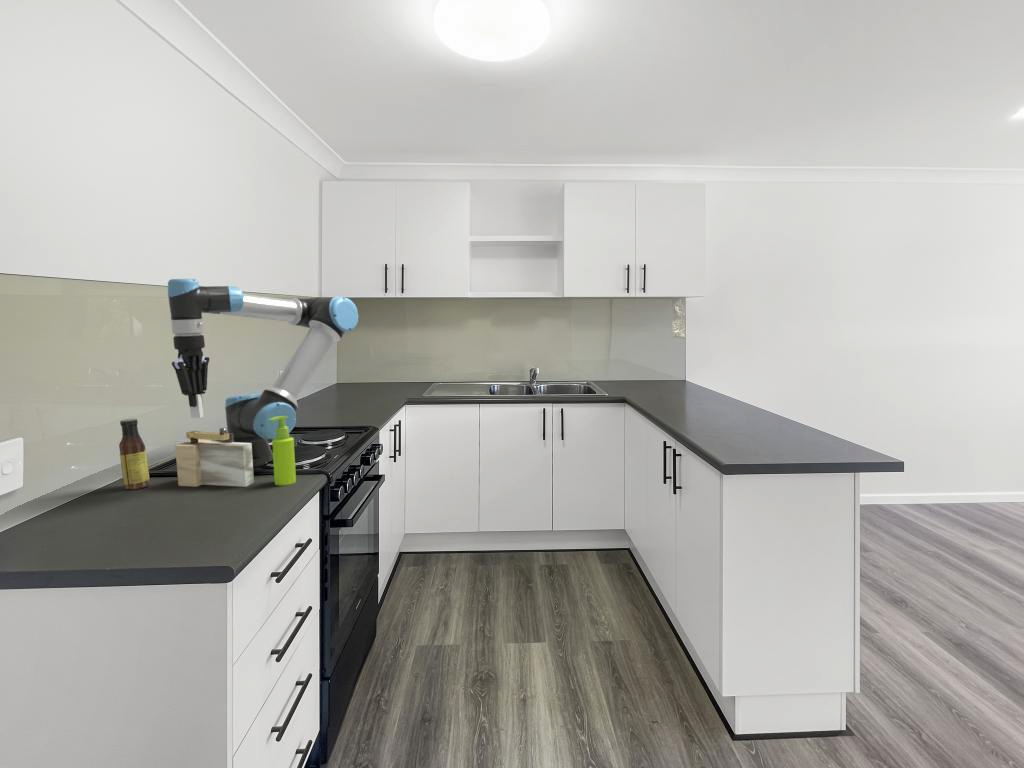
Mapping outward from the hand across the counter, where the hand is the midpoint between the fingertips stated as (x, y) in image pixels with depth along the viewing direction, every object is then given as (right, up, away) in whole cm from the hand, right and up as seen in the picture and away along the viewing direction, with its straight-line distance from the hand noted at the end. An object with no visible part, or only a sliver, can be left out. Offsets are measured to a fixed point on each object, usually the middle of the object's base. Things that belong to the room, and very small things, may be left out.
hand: (197, 417), depth 160 cm
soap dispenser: (+23, -20, +5) cm, 31 cm away
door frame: (+4, -20, +5) cm, 21 cm away
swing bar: (+1, -6, +3) cm, 7 cm away
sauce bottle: (-18, -21, +1) cm, 28 cm away
